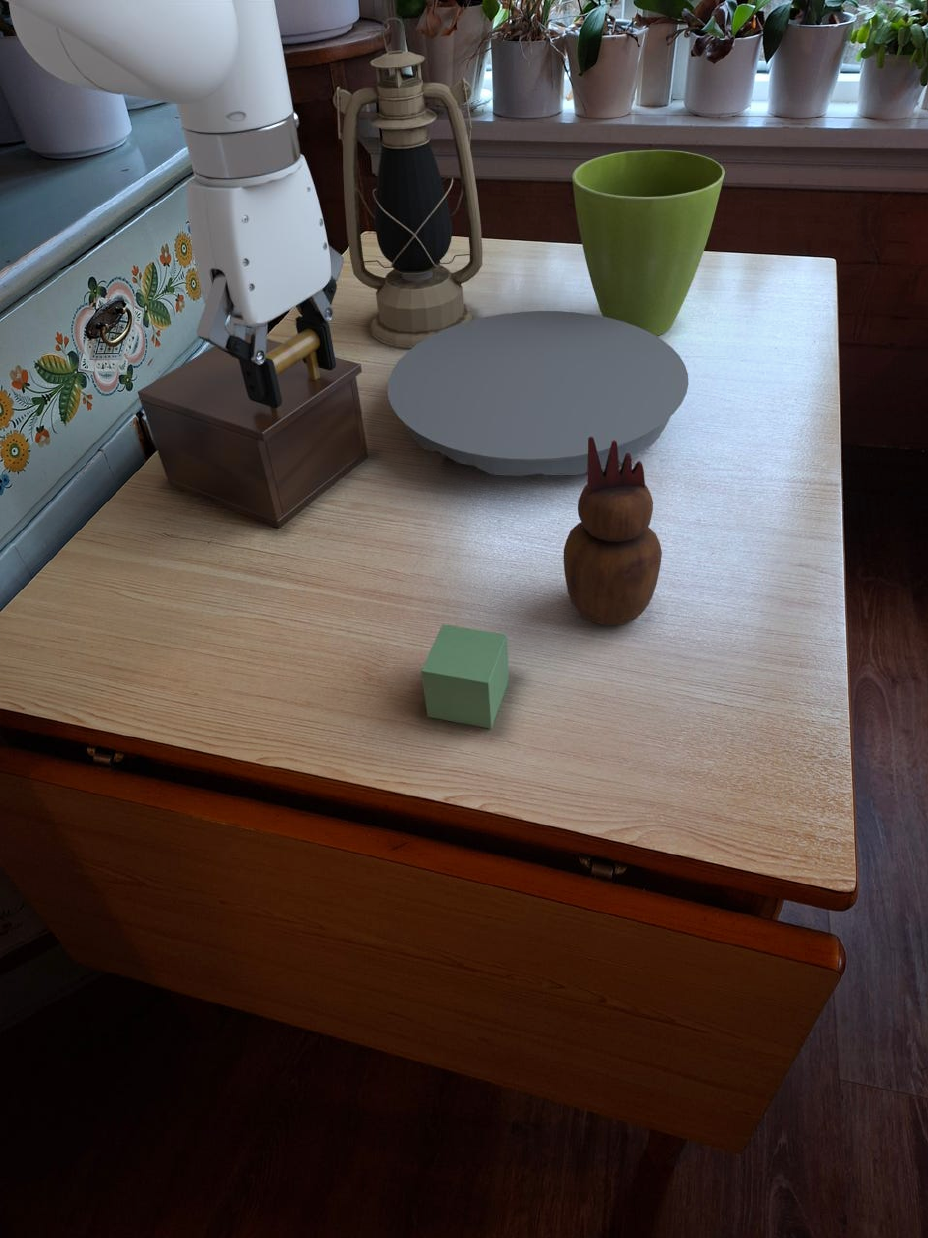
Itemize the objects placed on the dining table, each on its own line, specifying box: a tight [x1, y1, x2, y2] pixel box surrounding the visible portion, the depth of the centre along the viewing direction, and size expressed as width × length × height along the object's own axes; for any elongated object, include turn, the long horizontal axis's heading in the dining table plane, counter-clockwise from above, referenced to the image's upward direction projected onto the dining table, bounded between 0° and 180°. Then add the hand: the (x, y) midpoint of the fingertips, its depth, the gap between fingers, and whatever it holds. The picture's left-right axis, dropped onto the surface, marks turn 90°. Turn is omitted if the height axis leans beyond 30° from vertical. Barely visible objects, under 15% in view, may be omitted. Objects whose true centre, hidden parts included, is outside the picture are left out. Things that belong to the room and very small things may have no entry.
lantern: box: [332, 17, 484, 350], centre depth 94 cm, size 14×12×30 cm
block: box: [420, 624, 510, 730], centre depth 60 cm, size 4×4×4 cm
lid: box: [137, 329, 363, 441], centre depth 76 cm, size 14×13×5 cm
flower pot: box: [571, 149, 726, 337], centre depth 96 cm, size 15×15×16 cm
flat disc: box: [386, 310, 689, 477], centre depth 87 cm, size 28×28×4 cm
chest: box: [140, 376, 369, 529], centre depth 81 cm, size 14×13×9 cm
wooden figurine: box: [563, 437, 663, 626], centre depth 62 cm, size 7×6×15 cm
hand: (293, 381), depth 75 cm, fingers closed on lid, 6 cm apart
